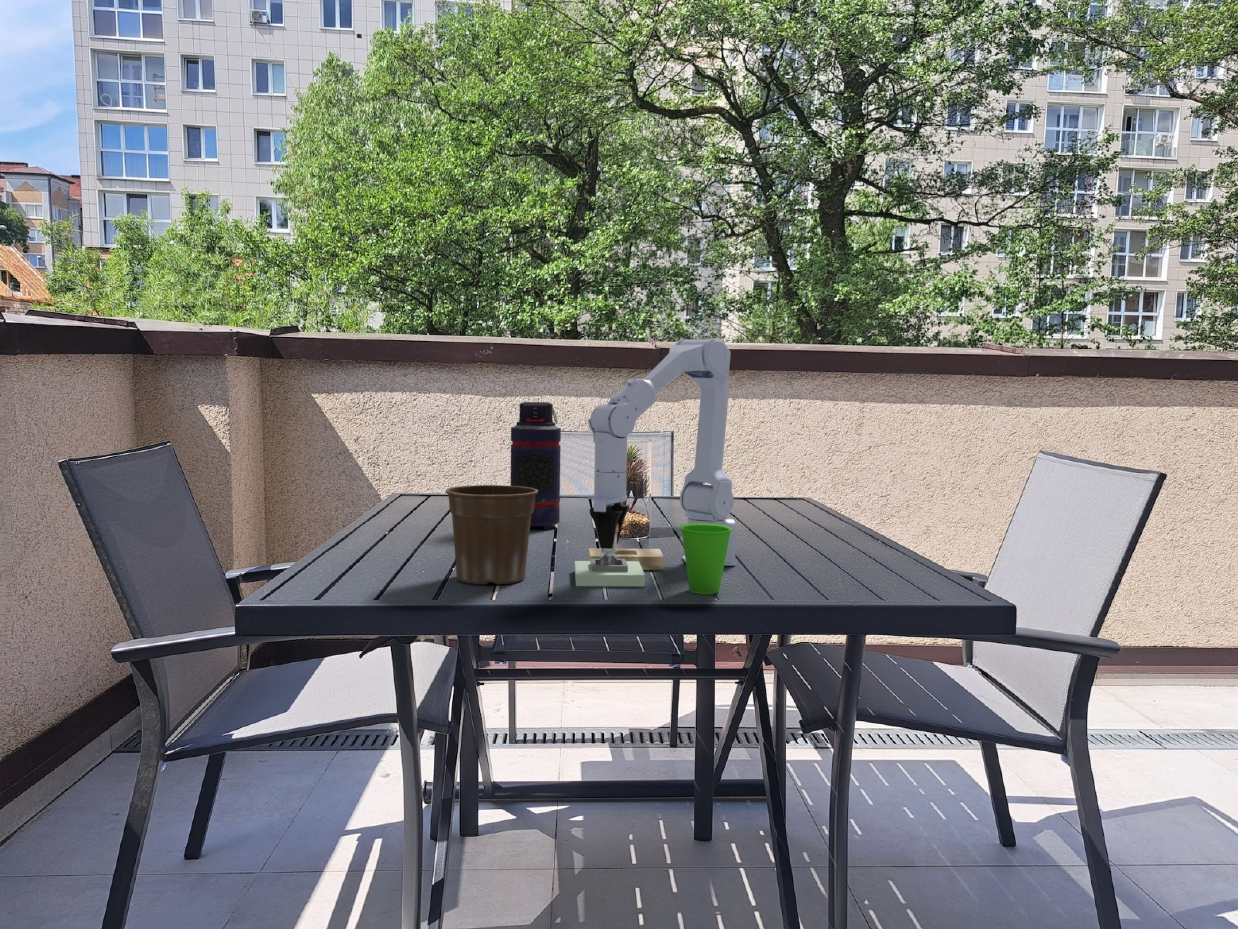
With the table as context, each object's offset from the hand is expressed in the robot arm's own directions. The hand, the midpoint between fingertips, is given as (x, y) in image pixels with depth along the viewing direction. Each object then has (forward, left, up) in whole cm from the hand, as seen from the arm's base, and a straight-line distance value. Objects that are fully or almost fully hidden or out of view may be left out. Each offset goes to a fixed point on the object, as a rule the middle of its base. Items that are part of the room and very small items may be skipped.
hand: (609, 546), depth 164 cm
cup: (-16, +9, -6) cm, 19 cm away
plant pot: (+21, 0, -6) cm, 22 cm away
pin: (0, 0, -4) cm, 4 cm away
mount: (-4, -12, -6) cm, 14 cm away
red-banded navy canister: (+15, -58, -6) cm, 60 cm away
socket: (0, 0, -6) cm, 6 cm away
